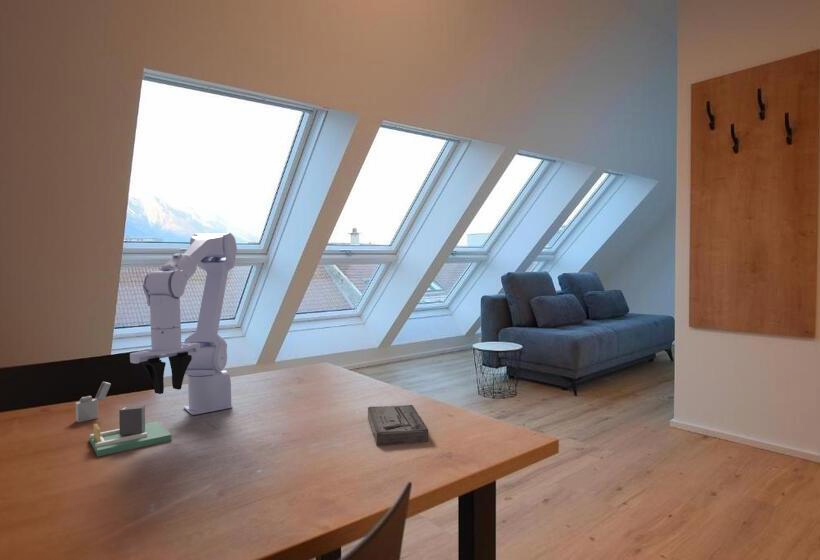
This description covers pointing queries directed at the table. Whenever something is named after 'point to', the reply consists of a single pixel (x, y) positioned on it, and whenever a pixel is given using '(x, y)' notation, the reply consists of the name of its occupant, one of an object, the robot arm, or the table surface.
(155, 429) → the header board
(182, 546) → the table surface
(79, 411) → the lighter
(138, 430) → the plug
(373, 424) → the box
